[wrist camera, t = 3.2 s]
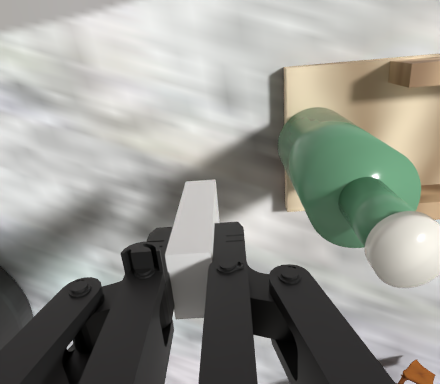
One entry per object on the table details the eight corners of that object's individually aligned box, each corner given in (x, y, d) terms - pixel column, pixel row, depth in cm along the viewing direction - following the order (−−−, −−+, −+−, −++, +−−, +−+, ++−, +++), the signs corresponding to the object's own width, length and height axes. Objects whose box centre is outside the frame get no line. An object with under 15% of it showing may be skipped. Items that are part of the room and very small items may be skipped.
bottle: (278, 180, 27) (333, 319, 14) (276, 110, 25) (340, 192, 12) (348, 175, 27) (475, 310, 13) (353, 104, 25) (509, 179, 11)
